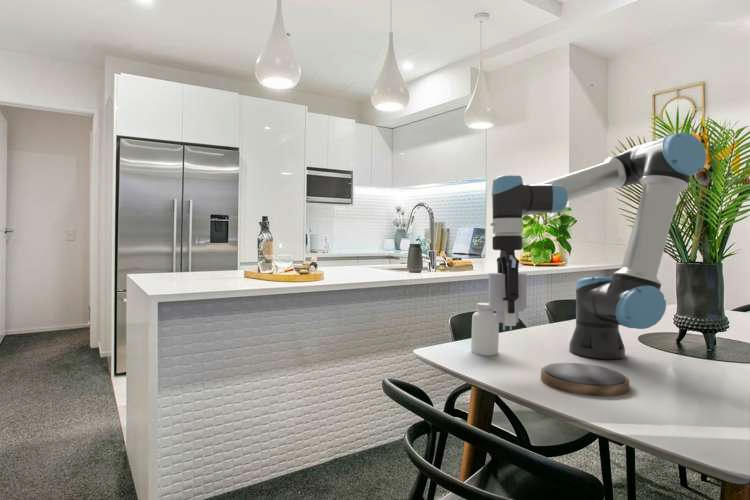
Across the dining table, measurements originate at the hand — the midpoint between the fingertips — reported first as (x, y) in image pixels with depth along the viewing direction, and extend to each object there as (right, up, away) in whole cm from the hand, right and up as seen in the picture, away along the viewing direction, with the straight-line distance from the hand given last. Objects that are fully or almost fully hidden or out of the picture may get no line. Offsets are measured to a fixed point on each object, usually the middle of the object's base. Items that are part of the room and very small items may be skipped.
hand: (507, 323), depth 117 cm
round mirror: (+15, -12, -11) cm, 22 cm away
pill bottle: (-2, -12, +18) cm, 22 cm away
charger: (0, -2, 0) cm, 2 cm away
